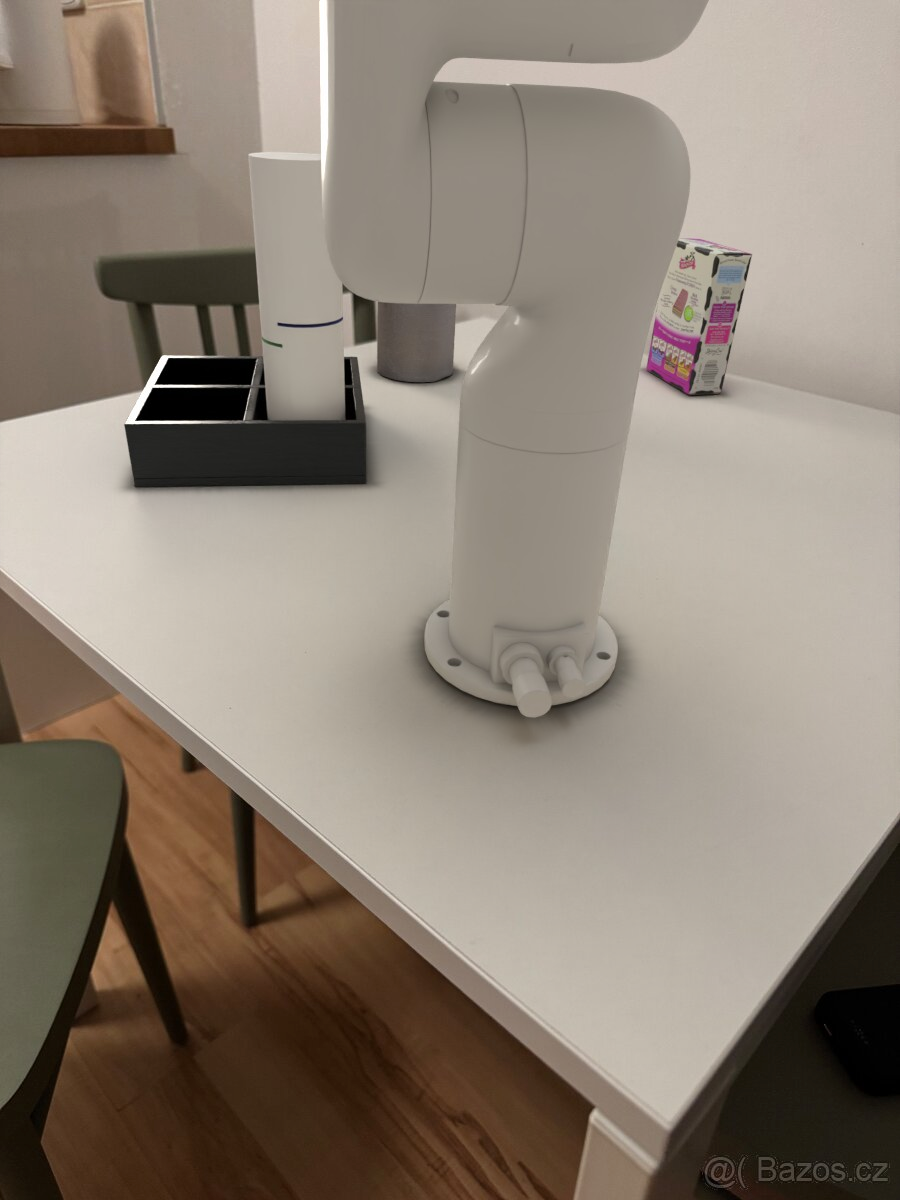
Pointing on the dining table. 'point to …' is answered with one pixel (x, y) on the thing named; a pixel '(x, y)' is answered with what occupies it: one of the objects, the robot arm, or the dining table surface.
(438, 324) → the pillar candle
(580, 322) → the robot arm
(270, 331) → the cylindrical container
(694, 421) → the dining table surface
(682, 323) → the candy bar box
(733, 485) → the dining table surface
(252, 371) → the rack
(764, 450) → the dining table surface
